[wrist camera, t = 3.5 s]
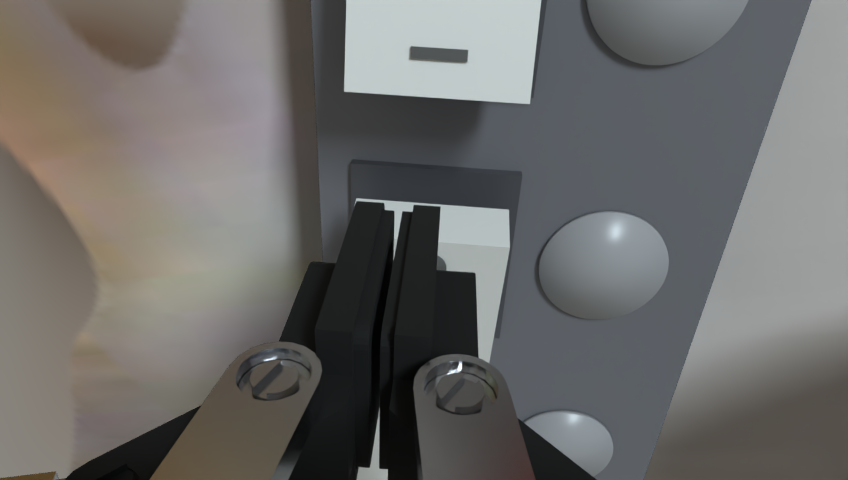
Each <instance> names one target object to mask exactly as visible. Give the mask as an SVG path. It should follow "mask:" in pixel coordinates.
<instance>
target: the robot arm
mask: <svg viewBox="0 0 848 480" xmlns="http://www.w3.org/2000/svg"><path fill="white" fill-rule="evenodd" d="M440 209H441V207H440V206H425V205H414V206H413V212H408V211H402V217H401V222H400V228H399V233H398V239H397V245H396V250H395V256H394V211H392V210H385V205H384V203H379V202H364V201H356V203H355V206H354V210H353V213H352V216H351V219H350V222H349V225H348V228H347V231H346V234H345V237H344V240H343V243H342V246H341V250H340V253H339V256H338V259H337V262H336V263H326V262H311V263H310V265H309V266H308V269H307V271H306V274H305V276H304V279H303V282H302V284H301V287H300V289H299V292H298V294H297V297H296V299H295V302H294V304H293V307H292V309H291V312H290V315H289V317H288V320H287V322H286V325H285V327H284V330H283V332H282V335H281V337H280V340H279V342H271V343H264V344H261V345H259V346H256V347H253V348H250V349H249V350H247V351H245V352H244V353H242V354H240V355H239V356H238V357H237V358H236V359H235V360H234V361H233V362H232V363H231V364H230V365H229V367H228V368H227V370H226V371H225V373H224V374H223V375H222V377H221V378H220V380H219V381H218V383H217V384H216V385H215V387H214V388H213V390H212V391H211V393H210V394H209V395H208V397H207V398H206V400H205V401H204V403H203V404H202V405H201V406H199V407H197V408H195V409H193V410H191V411H189V412H187V413H185V414H183V415H181V416H179V417H177V418H175V419H173V420H171V421H169V422H167V423H165V424H163V425H161V426H159V427H157V428H155V429H153V430H151V431H149V432H147V433H145V434H143V435H141V436H139V437H137V438H135V439H133V440H131V441H129V442H127V443H125V444H123V445H121V446H119V447H117V448H115V449H113V450H111V451H109V452H107V453H105V454H103V455H101V456H99V457H97V458H95V459H93V460H91V461H89V462H87V463H86V464H84V465H83V466H81V467H79V468H78V469H76V470H75V471H73V472H72V473H71V474H70V475H69V476H68V477H67V478H64V479H59V478H58V475H57V473H56V472H48V473H39V474H30V475H22V476H14V477H6V478H0V480H357V474H358V469H359V467H363V468H370V465H371V459H372V452H373V446H374V439H375V433H376V427H377V420H378V414H379V407H380V424H379V469H388V480H597V479H595V478H594V477H593V476H591V475H590V474H589V473H588V472H586V471H585V470H584V469H582V468H581V467H580V466H579V465H577V464H576V463H575V462H573V461H572V460H571V459H570V458H568V457H567V456H566V455H564V454H563V453H562V452H561V451H559V450H558V449H557V448H556V447H554V446H553V445H552V444H550V443H549V442H548V441H547V440H545V439H544V438H543V437H541V436H540V435H539V434H538V433H536V432H535V431H534V430H532V429H531V428H530V427H529V426H527V425H526V424H525V423H523V422H522V421H521V420H520V419H518V418H517V415H516V411H515V408H514V405H513V401H512V398H511V394H510V391H509V388H508V384H507V382H506V380H505V379H504V377H503V375H502V374H501V373H500V372H499V371H498V370H497V369H496V368H495V367H494V366H493V365H491V364H490V363H488V362H486V361H484V360H483V359H480V358H479V356H478V327H477V297H476V274H475V273H473V272H459V271H444V270H437V255H438V240H439V225H440Z"/></svg>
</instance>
